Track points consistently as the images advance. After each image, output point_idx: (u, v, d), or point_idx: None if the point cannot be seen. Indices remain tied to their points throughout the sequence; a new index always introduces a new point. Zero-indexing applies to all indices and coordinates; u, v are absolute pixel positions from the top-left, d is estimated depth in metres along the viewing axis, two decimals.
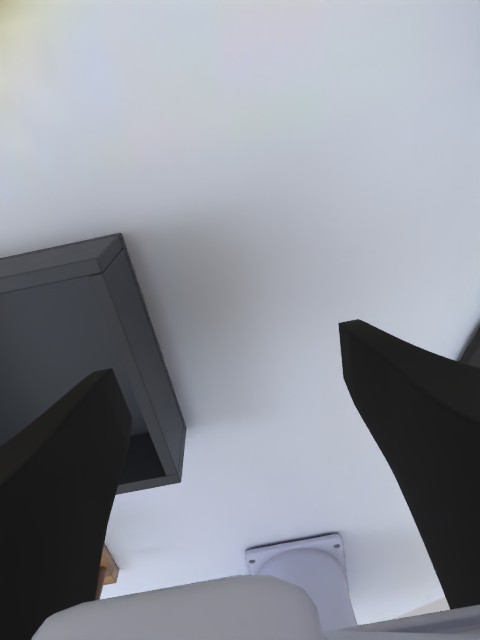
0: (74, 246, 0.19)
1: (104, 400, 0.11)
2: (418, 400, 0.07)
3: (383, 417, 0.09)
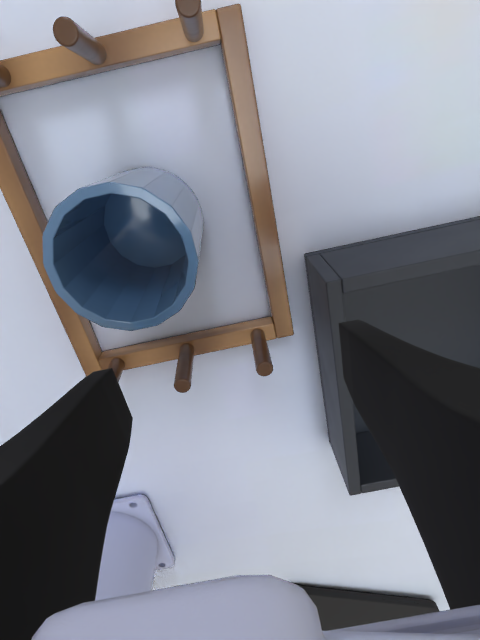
0: None
1: (104, 400, 0.11)
2: (418, 401, 0.07)
3: (383, 417, 0.09)
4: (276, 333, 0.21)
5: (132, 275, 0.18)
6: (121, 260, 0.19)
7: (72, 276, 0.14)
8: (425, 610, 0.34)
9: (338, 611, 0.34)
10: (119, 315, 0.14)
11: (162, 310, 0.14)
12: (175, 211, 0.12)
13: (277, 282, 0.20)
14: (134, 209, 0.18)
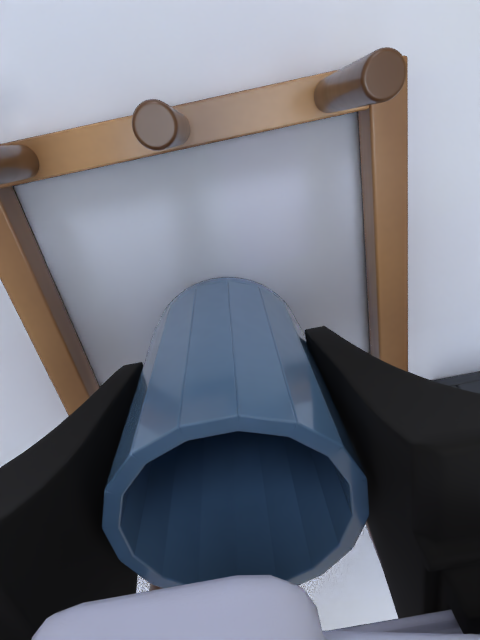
0: None
1: None
2: (363, 411, 0.07)
3: None
4: None
5: None
6: None
7: (141, 509, 0.09)
8: None
9: None
10: (216, 568, 0.09)
11: (292, 572, 0.08)
12: (347, 452, 0.07)
13: None
14: None
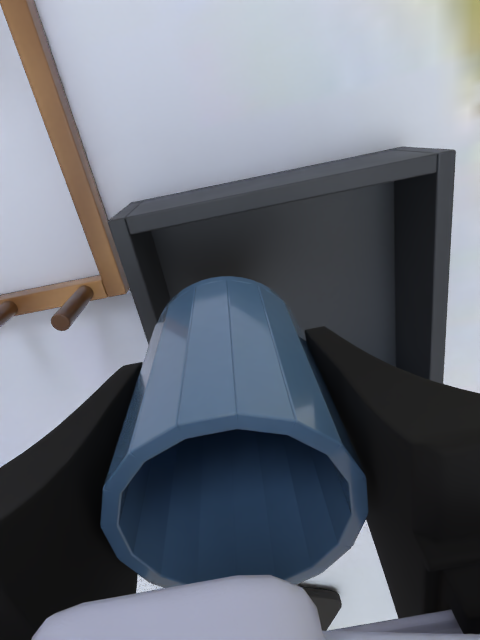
0: None
1: None
2: (363, 411, 0.07)
3: None
4: (106, 291, 0.20)
5: None
6: None
7: (140, 508, 0.09)
8: (325, 601, 0.33)
9: None
10: (215, 567, 0.09)
11: (291, 570, 0.08)
12: (346, 450, 0.07)
13: (96, 232, 0.18)
14: None
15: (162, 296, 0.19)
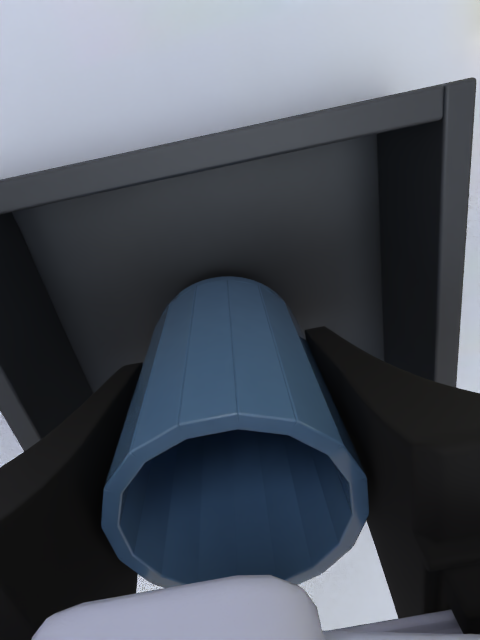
0: None
1: None
2: (362, 411, 0.07)
3: None
4: None
5: None
6: None
7: (140, 508, 0.09)
8: None
9: None
10: (215, 567, 0.09)
11: (292, 571, 0.08)
12: (347, 450, 0.07)
13: None
14: None
15: (33, 322, 0.13)
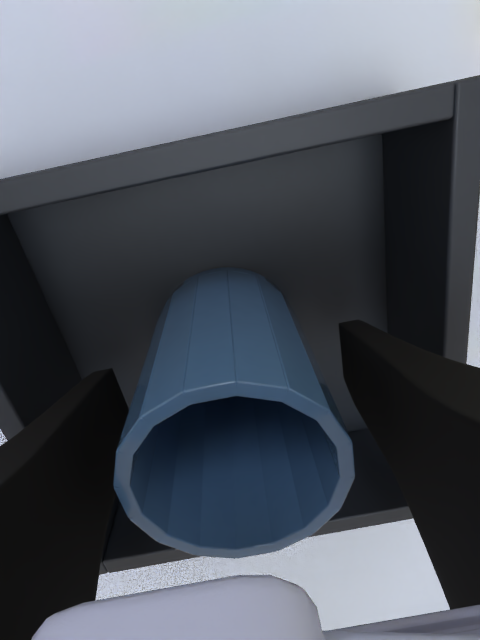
0: None
1: (104, 400, 0.11)
2: (418, 400, 0.07)
3: (383, 417, 0.09)
4: None
5: (206, 414, 0.13)
6: None
7: (148, 475, 0.09)
8: None
9: None
10: (216, 530, 0.10)
11: (286, 532, 0.09)
12: (334, 416, 0.08)
13: None
14: None
15: (29, 327, 0.12)
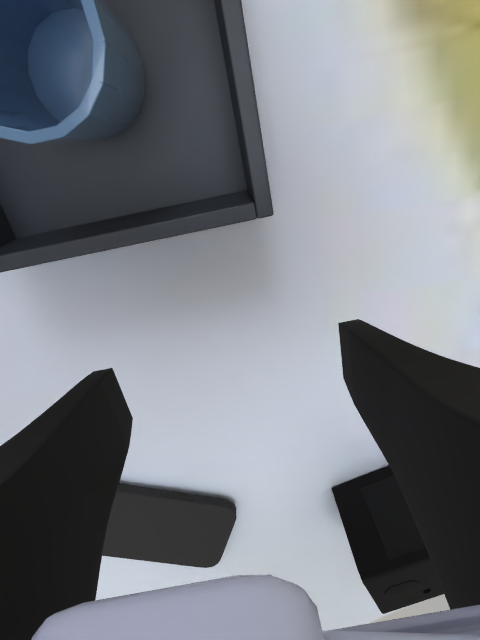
0: None
1: (104, 400, 0.11)
2: (418, 401, 0.07)
3: (383, 417, 0.09)
4: None
5: None
6: (49, 116, 0.16)
7: None
8: (216, 510, 0.28)
9: None
10: (18, 128, 0.12)
11: (67, 116, 0.11)
12: None
13: None
14: (63, 54, 0.16)
15: None
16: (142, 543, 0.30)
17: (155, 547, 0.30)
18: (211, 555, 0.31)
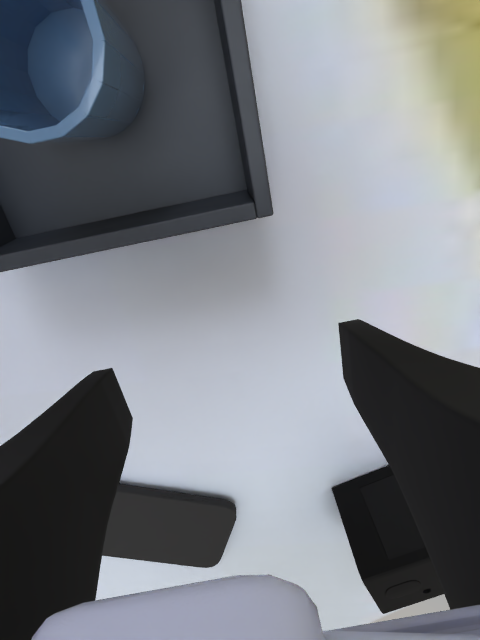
0: None
1: (104, 400, 0.11)
2: (418, 401, 0.07)
3: (383, 417, 0.09)
4: None
5: None
6: (48, 116, 0.16)
7: None
8: (216, 510, 0.28)
9: None
10: (17, 127, 0.12)
11: (67, 116, 0.11)
12: None
13: None
14: (62, 54, 0.16)
15: None
16: (142, 543, 0.30)
17: (155, 547, 0.30)
18: (211, 555, 0.31)
